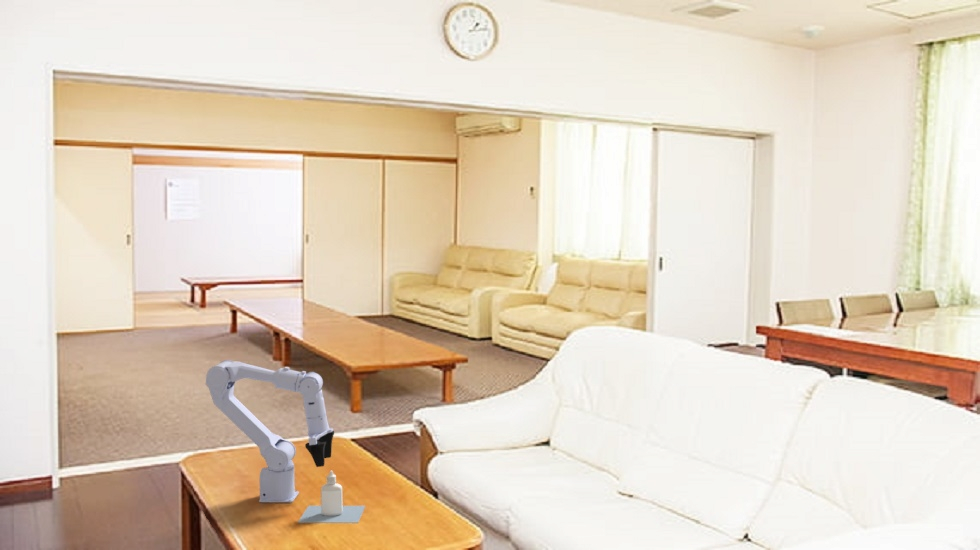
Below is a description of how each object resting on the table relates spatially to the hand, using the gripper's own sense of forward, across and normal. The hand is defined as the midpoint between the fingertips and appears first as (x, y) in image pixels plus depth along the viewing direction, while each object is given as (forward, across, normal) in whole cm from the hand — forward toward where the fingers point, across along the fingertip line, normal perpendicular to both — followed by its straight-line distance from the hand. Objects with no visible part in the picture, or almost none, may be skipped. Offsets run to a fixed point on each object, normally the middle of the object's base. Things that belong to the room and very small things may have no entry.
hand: (323, 461), depth 232 cm
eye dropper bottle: (+11, -12, -4) cm, 17 cm away
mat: (+11, -12, -4) cm, 17 cm away
